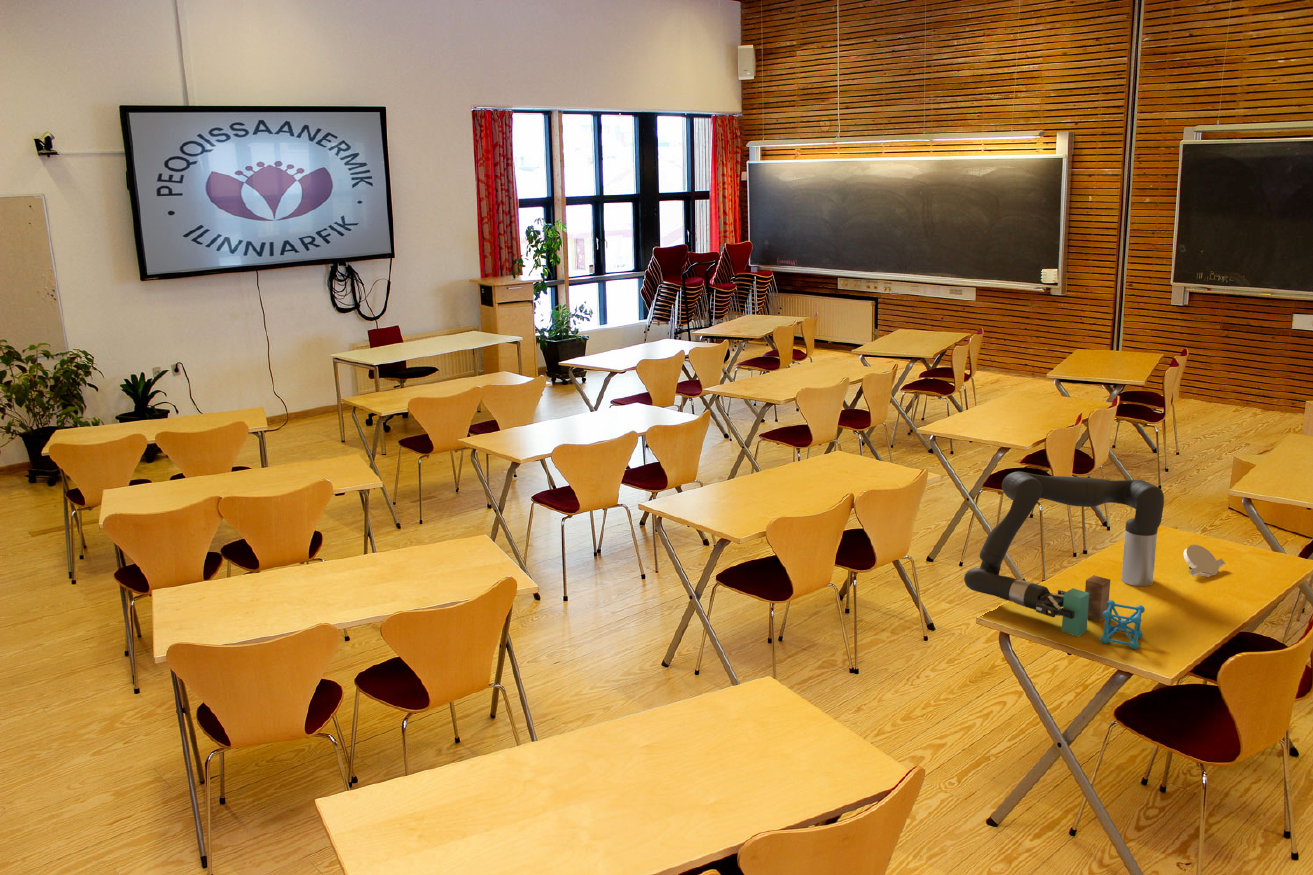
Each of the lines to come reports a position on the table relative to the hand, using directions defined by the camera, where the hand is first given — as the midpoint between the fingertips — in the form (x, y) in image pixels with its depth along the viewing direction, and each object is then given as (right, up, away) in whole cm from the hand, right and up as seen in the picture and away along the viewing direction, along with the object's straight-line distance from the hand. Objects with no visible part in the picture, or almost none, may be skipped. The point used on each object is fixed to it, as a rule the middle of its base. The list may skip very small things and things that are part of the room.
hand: (1081, 610), depth 289 cm
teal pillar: (-1, -6, +3) cm, 7 cm away
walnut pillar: (+9, -4, +11) cm, 15 cm away
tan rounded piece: (+56, +6, +39) cm, 68 cm away
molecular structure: (+10, -8, -4) cm, 13 cm away
